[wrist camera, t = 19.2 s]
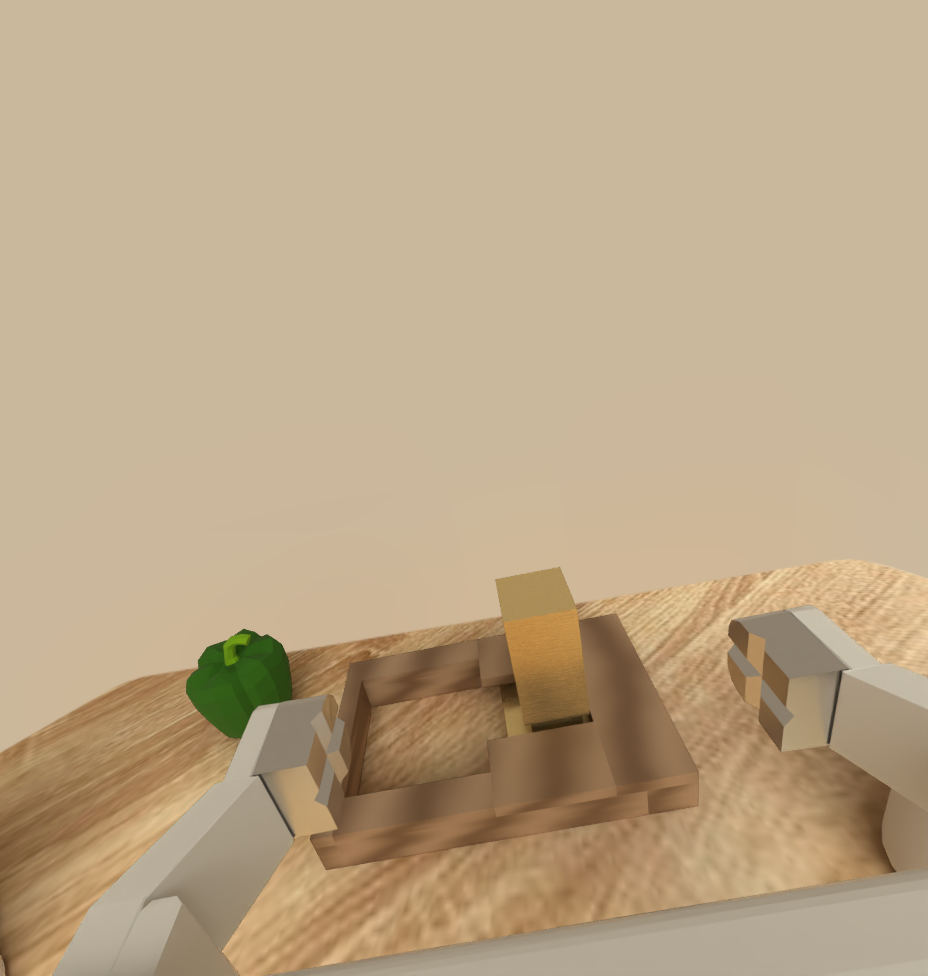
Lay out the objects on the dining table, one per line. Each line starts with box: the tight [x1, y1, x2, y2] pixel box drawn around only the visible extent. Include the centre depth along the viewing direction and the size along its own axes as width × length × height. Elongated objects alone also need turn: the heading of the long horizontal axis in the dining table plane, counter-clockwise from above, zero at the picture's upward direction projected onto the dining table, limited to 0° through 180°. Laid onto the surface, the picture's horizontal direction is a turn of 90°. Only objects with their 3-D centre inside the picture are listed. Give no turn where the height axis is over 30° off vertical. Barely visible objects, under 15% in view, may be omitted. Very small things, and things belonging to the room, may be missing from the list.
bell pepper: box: [186, 629, 292, 738], centre depth 46 cm, size 8×8×10 cm
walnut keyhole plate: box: [310, 614, 699, 870], centre depth 40 cm, size 26×16×4 cm, turn 93°
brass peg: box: [496, 567, 592, 737], centre depth 37 cm, size 8×8×14 cm
